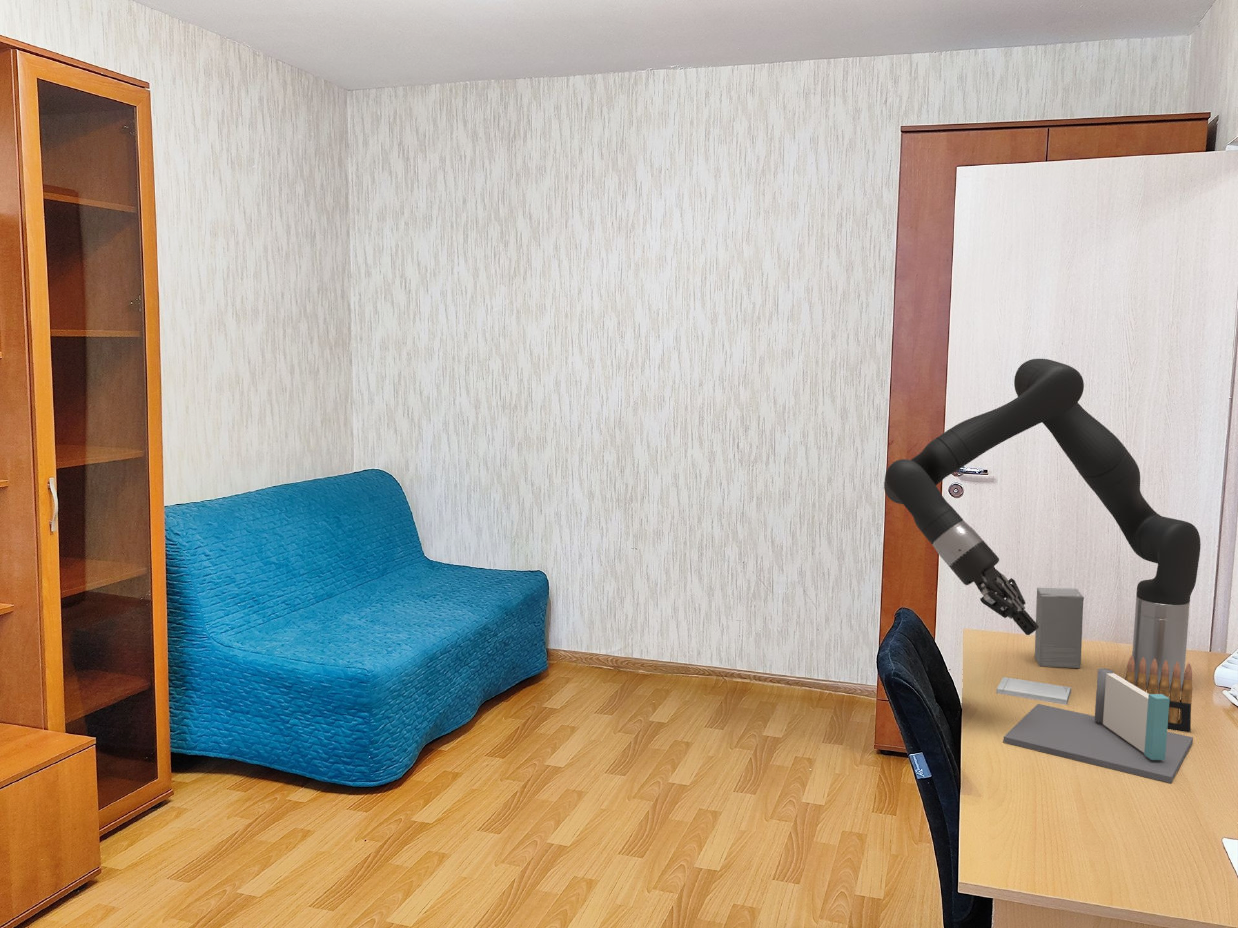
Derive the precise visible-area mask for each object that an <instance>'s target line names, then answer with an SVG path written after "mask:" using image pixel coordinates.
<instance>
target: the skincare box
mask: <svg viewBox="0 0 1238 928" xmlns="http://www.w3.org/2000/svg"><path fill="white" fill-rule="evenodd" d="M1084 598H1085V596H1084V595H1082V593H1081V592H1080V591H1079V589H1078V588H1072V587H1071V588H1068V587H1067V588H1066V587H1065V588H1062V587H1058V588H1057V587H1036V604H1035V607H1036V608H1035V609H1036V610H1035V622H1036V623H1037V625H1038V629H1037V630H1035V631H1034V632H1035V635H1034V636H1035V638H1034V640H1035V641H1034V658H1035V660H1036V662H1037V664H1038V666H1039V667H1042V668H1043V667H1045V668H1046V667H1049V668H1070V669H1071V668H1072V669H1080V668H1081V667H1082V647H1083V646H1082V641H1083V640H1082V639H1083V622H1084V621H1083V620H1084V619H1083V618H1084V617H1083V615H1084V600H1085V599H1084Z"/></svg>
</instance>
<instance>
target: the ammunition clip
mask: <svg viewBox="0 0 1238 928" xmlns="http://www.w3.org/2000/svg"><path fill="white" fill-rule="evenodd" d="M1180 675H1181V673H1180V665H1179V662H1176V664H1175V666H1174V670H1173V677H1172V682H1171V685H1169V666H1168V662H1167V660H1165V662H1164V664H1163V667H1162V671H1161V679H1160V682H1159V691H1158V666H1157V661H1156V659H1154V660H1153V661H1152V664H1151V668H1150V675H1149V680H1148V686H1147V680H1146V662H1145V658H1144V657H1142V659H1141V661H1140V664H1139V671H1138V677H1137V681H1136V685H1135V662H1134V658H1133V656H1132V655H1130V657H1129V659H1128V662H1127V669H1126V673H1125V678H1124V680H1126V681H1128V682H1129V683H1131V684H1133V685H1134V686H1136V687H1138V688H1140V689H1141V690H1143V691H1145V692H1146V693H1148V694H1163V695H1164V696H1166V697H1168V698H1170V701H1169V714H1168V727H1167V730H1170V729H1171V730H1170V731H1176V730H1177V731H1179V732H1182V733H1183V732H1184V733H1191V729H1192V728H1191V725H1192V724H1191V723H1192V721H1191V719H1192V717H1191V715H1192V702H1193V689H1194V688H1193V671H1192V665H1191V663H1187V664H1186V666H1185V670H1184V680H1183V685H1182V690H1181V683H1180ZM1146 687H1147V688H1146ZM1169 687H1170V692H1169Z"/></svg>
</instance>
